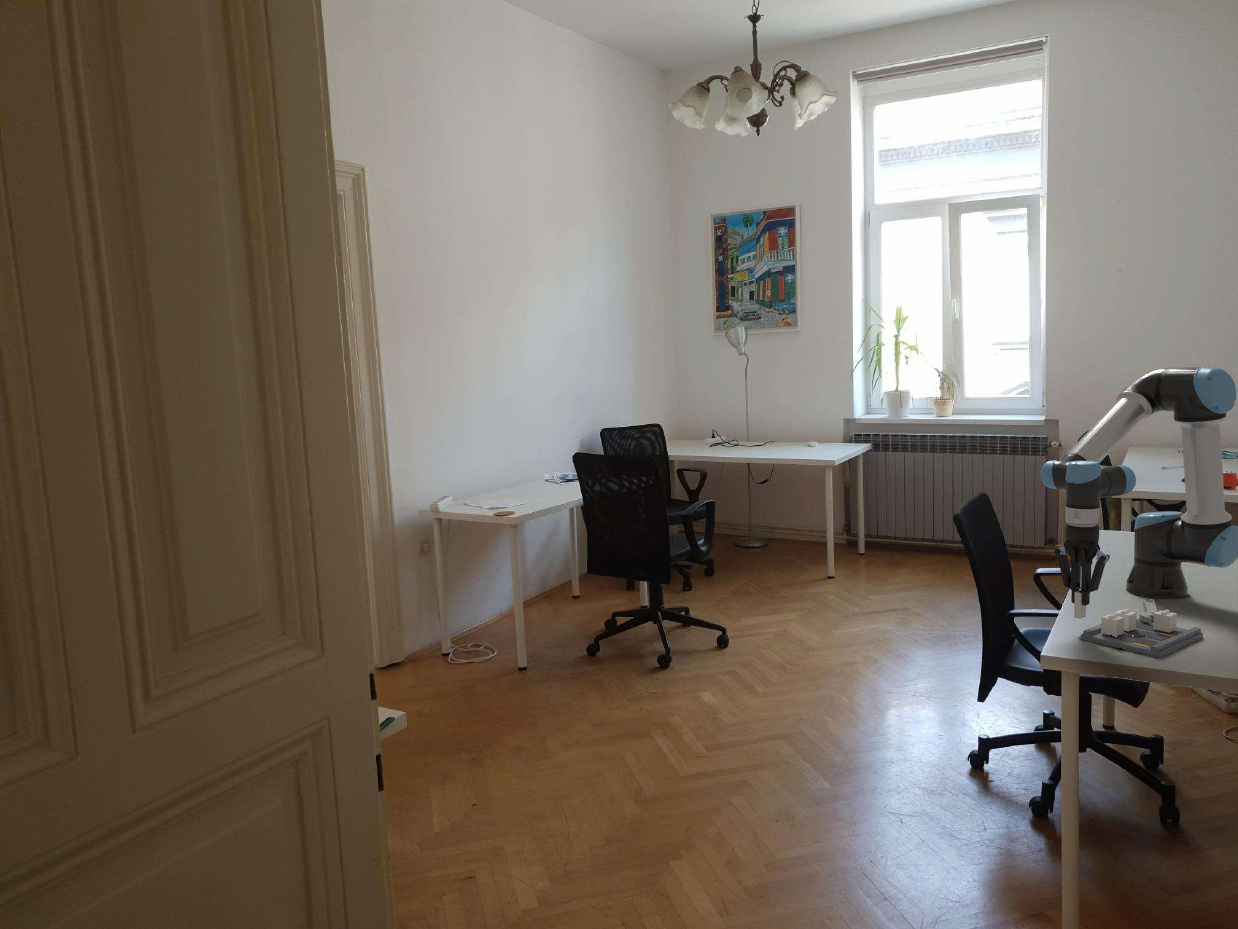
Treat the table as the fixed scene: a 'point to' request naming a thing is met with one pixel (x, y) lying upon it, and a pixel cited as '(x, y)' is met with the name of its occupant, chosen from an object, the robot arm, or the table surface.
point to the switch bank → (1145, 639)
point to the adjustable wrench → (1148, 611)
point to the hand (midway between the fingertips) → (1080, 616)
